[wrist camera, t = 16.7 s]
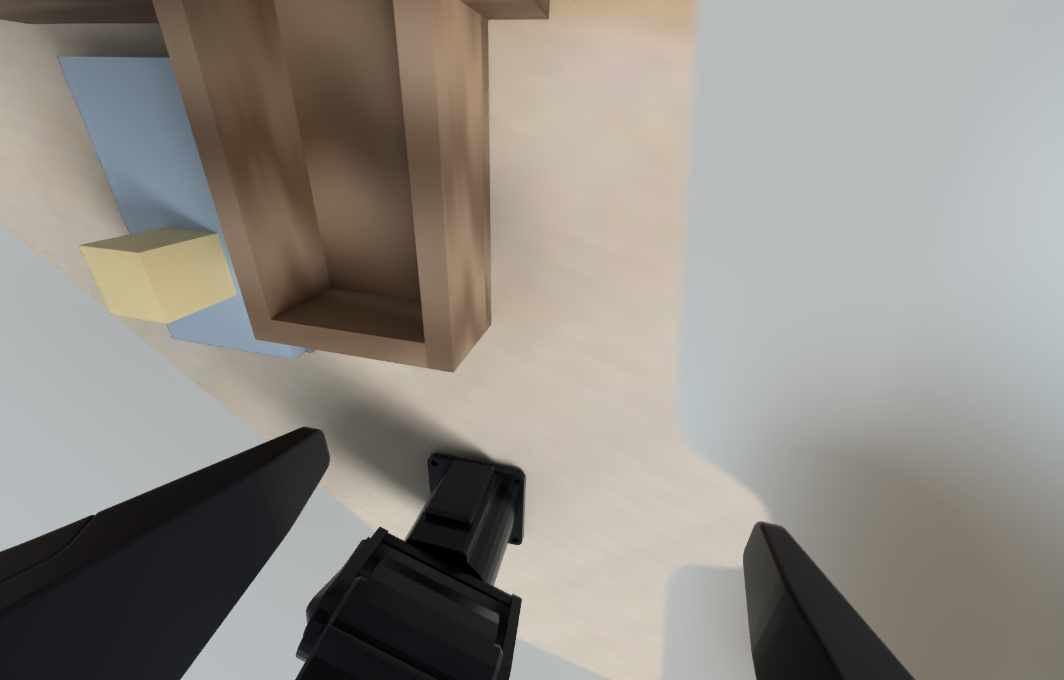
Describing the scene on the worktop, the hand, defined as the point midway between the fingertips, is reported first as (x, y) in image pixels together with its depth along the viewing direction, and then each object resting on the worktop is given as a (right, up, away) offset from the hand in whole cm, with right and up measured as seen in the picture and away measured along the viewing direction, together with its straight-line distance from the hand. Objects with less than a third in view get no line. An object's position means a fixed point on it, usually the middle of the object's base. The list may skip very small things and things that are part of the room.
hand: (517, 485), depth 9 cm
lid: (-18, +10, +15) cm, 25 cm away
